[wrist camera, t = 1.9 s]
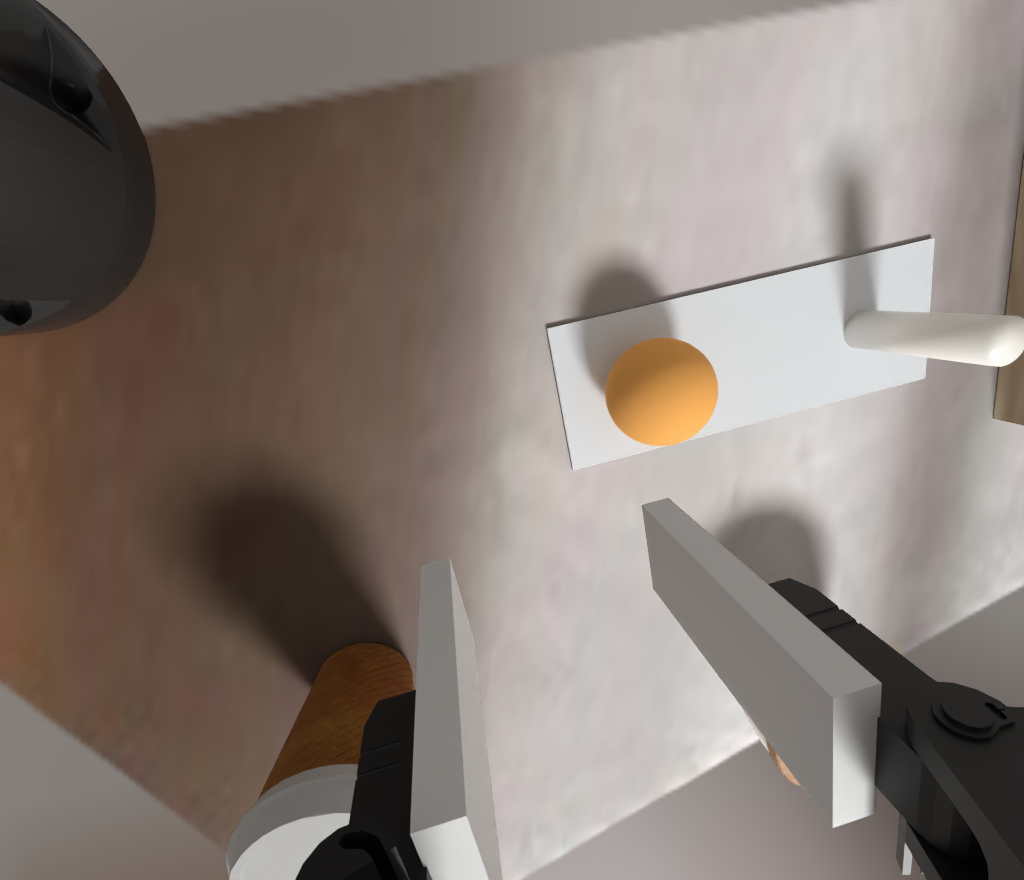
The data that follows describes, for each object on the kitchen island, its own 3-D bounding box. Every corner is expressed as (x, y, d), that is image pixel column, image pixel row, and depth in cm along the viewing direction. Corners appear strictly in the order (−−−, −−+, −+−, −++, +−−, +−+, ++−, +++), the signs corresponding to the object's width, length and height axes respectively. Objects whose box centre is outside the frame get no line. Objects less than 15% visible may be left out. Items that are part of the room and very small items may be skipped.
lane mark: (572, 469, 31) (573, 470, 30) (546, 328, 28) (547, 328, 28) (922, 377, 33) (925, 378, 33) (931, 238, 30) (934, 237, 30)
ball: (574, 406, 29) (607, 432, 24) (622, 315, 28) (669, 321, 23) (652, 444, 31) (701, 478, 25) (701, 360, 30) (763, 375, 24)
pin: (834, 337, 31) (975, 353, 23) (856, 303, 30) (1008, 306, 22) (859, 354, 32) (1006, 375, 24) (881, 320, 31) (1038, 329, 23)
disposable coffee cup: (441, 621, 32) (446, 797, 21) (430, 733, 35) (429, 943, 24) (291, 620, 31) (209, 812, 19) (291, 737, 33) (218, 967, 22)
